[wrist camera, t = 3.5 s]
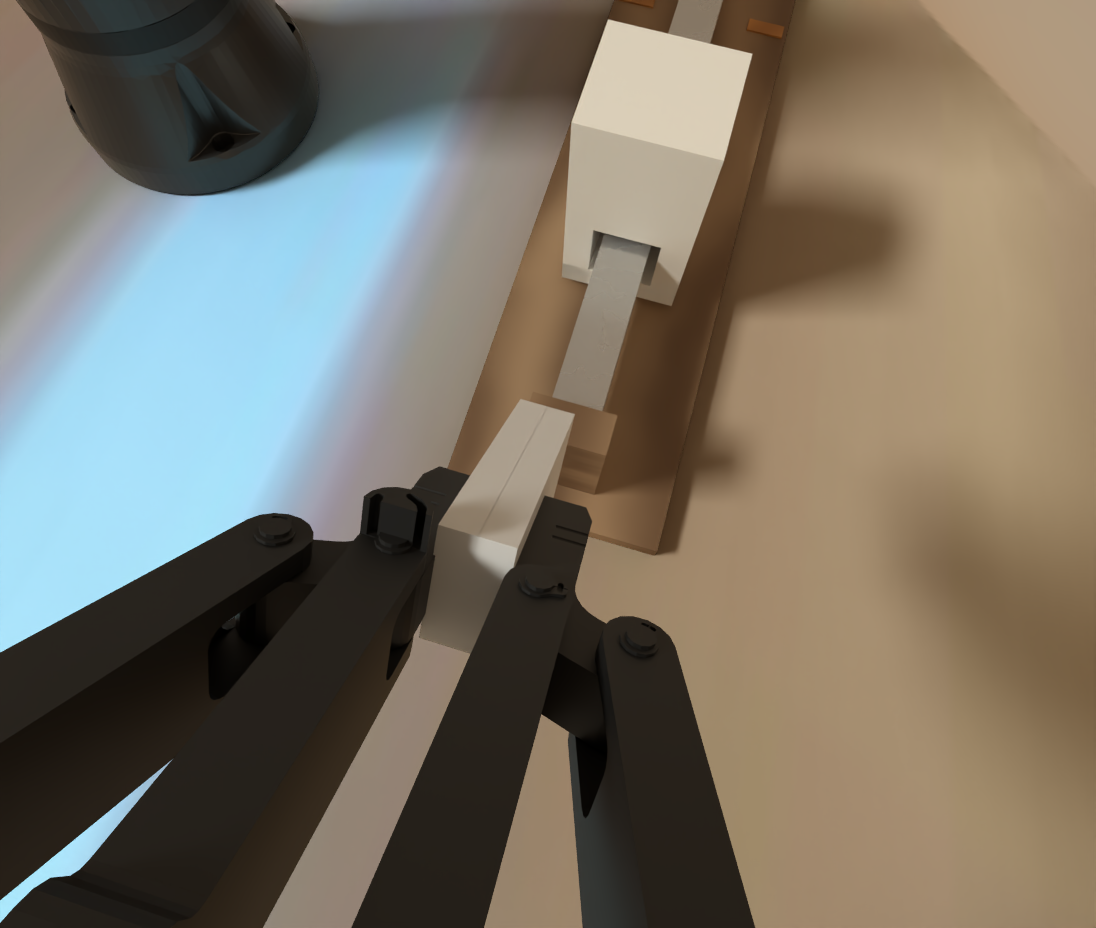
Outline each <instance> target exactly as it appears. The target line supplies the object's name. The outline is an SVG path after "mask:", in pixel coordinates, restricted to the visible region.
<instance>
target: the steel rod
mask: <svg viewBox="0 0 1096 928" xmlns="http://www.w3.org/2000/svg"><path fill="white" fill-rule="evenodd" d="M722 3H723V0H679V1H678V4H677V7H676V10H675V13H674V17H673V20H672V23H671V26H670V29H669V32H668V34H671V35H676V36H680V37H684V38H688V39H692V40H696V41H701V42H705V43H709V44H711V41H712V37H713V34H714V30H715V27H716V24H717V20H718V17H719V13H720V10H721V6H722ZM651 246H652V245H648V244H644V243H641V242H637V241H633V240H629V239H625V238H621V237H618V236H614V235H610V234H606V233H604V236H603V239H602V243H601V246H600V249H599V252H598V255H597V258H596V261H595V265H594V268H593V271H592V274H591V277H590V280H589V283H588V287H587V290H586V293H585V296H584V299H583V302H582V305H581V308H580V312H579V315H578V318H577V321H576V324H575V327H574V330H573V334H572V337H571V340H570V343H569V346H568V349H567V352H566V356H565V359H564V362H563V365H562V368H561V371H560V374H559V378H558V381H557V384H556V387H555V390H554V393H553V396H552V397H554V398H557V399H561V400H564V401H568V402H571V403H575V404H579V405H582V406H586V407H589V408H593V409H596V410H600V411H603V410H604V406H605V403H606V400H607V396H608V393H609V389H610V386H611V383H612V379H613V376H614V372H615V369H616V365H617V362H618V359H619V355H620V352H621V348H622V345H623V341H624V338H625V335H626V331H627V328H628V324H629V321H630V318H631V314H632V311H633V307H634V304H635V300H636V297H637V294H638V290H639V287H640V283H641V280H642V277H643V273H644V270H645V266H646V263H647V259H648V256H649V253H650V249H651Z"/></svg>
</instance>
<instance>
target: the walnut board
mask: <svg viewBox="0 0 1096 928" xmlns="http://www.w3.org/2000/svg"><path fill="white" fill-rule="evenodd" d="M678 1H679V0H614V3H613V5H612V8H611V11H610V14H609V17H608V19H609V20H613V21H617V22H621V23H625V24H629V25H634V26H638V27H642V28H646V29H650V30H655V31H659V32H663V33H667V34H668V32H669V29H670V26H671V23H672V20H673V17H674V13H675V10H676V7H677V4H678ZM794 4H795V0H723V3H722V6H721V10H720V13H719V17H718V20H717V24H716V27H715V30H714V34H713V37H712V41H711V44H713V45H717V46H722V47H726V48H730V49H734V50H738V51H743V52H747V53H751V54H752V58H751V61H750V65H749V69H748V73H747V76H746V80H745V84H744V88H743V91H742V95H741V99H740V103H739V106H738V110H737V114H736V117H735V121H734V125H733V129H732V132H731V136H730V140H729V144H728V147H727V151H726V155H725V159H724V162H723V165H722V168H721V170H720V173H719V176H718V179H717V181H716V184H715V187H714V190H713V192H712V195H711V198H710V201H709V204H708V206H707V209H706V212H705V215H704V217H703V220H702V223H701V226H700V228H699V231H698V234H697V237H696V239H695V242H694V245H693V248H692V251H691V253H690V256H689V259H688V262H687V264H686V267H685V270H684V273H683V275H682V278H681V281H680V284H679V287H678V289H677V292H676V295H675V298H674V300H673V303H672V306H669V305H665V304H661V303H658V302H654V301H650V300H647V299H643V298H639V297H636V300H635V304H634V307H633V311H632V314H631V318H630V321H629V324H628V328H627V331H626V335H625V338H624V341H623V345H622V348H621V352H620V355H619V359H618V362H617V365H616V369H615V372H614V376H613V379H612V383H611V386H610V389H609V393H608V396H607V400H606V403H605V406H604V410H603V411H600V410H596V409H593V408H589V407H586V406H582V405H579V404H575V403H571V402H568V401H564V400H561V399H557V398H554V397H552V396H553V393H554V390H555V387H556V384H557V381H558V378H559V374H560V371H561V368H562V365H563V362H564V359H565V356H566V352H567V349H568V346H569V343H570V340H571V337H572V334H573V330H574V327H575V324H576V321H577V318H578V315H579V312H580V308H581V305H582V302H583V299H584V296H585V293H586V290H587V287H588V284H587V283H583V282H579V281H575V280H572V279H568V278H564V277H562V265H563V249H564V233H565V217H566V201H567V185H568V169H569V153H570V137H571V123H570V126H569V129H568V132H567V134H566V137H565V140H564V143H563V146H562V149H561V151H560V154H559V157H558V160H557V163H556V165H555V168H554V171H553V174H552V177H551V179H550V182H549V185H548V188H547V191H546V193H545V196H544V199H543V202H542V205H541V207H540V210H539V213H538V216H537V219H536V221H535V224H534V227H533V230H532V233H531V235H530V238H529V241H528V244H527V247H526V250H525V252H524V255H523V258H522V261H521V264H520V266H519V269H518V272H517V275H516V278H515V280H514V283H513V286H512V289H511V292H510V294H509V297H508V300H507V303H506V306H505V308H504V311H503V314H502V317H501V320H500V322H499V325H498V328H497V331H496V334H495V337H494V339H493V342H492V345H491V348H490V351H489V353H488V356H487V359H486V362H485V365H484V367H483V370H482V373H481V376H480V379H479V381H478V384H477V387H476V390H475V393H474V395H473V398H472V401H471V404H470V407H469V409H468V412H467V415H466V418H465V421H464V423H463V426H462V429H461V432H460V435H459V438H458V440H457V443H456V446H455V449H454V452H453V454H452V457H451V460H450V463H449V466H448V468H447V469H450V470H453V471H457V472H460V473H464V474H467V475H471V474H472V472H473V471H474V469H475V468H476V466H477V465H478V463H479V462H480V460H481V459H482V457H483V455H484V454H485V452H486V451H487V449H488V448H489V446H490V445H491V443H492V442H493V440H494V439H495V437H496V436H497V434H498V433H499V431H500V429H501V428H502V426H503V425H504V423H505V422H506V420H507V419H508V417H509V416H510V414H511V413H512V411H513V410H514V408H515V407H516V405H517V403H518V402H519V400H520V399H522V400H526V401H529V402H533V403H537V404H540V405H544V406H547V407H551V408H554V409H558V410H562V411H565V412H569V413H572V414H575V416H574V420H573V424H572V428H571V432H570V436H569V440H568V443H567V447H566V451H565V455H564V459H563V463H562V467H561V471H560V475H559V478H558V482H557V486H556V490H555V494H554V498H555V499H559V500H562V501H566V502H569V503H573V504H576V505H580V506H583V507H586V508H587V510H588V512H589V515H590V517H591V520H592V524H591V528H590V532H589V535H588V536H589V537H592V538H596V539H599V540H603V541H606V542H609V543H613V544H616V545H620V546H623V547H626V548H630V549H633V550H637V551H640V552H643V553H647V554H650V555H655V553H656V552H657V551H658V547H659V543H660V539H661V535H662V531H663V527H664V523H665V519H666V515H667V511H668V507H669V503H670V499H671V495H672V491H673V487H674V483H675V479H676V475H677V471H678V467H679V463H680V459H681V455H682V451H683V447H684V443H685V439H686V435H687V431H688V427H689V423H690V419H691V415H692V411H693V407H694V403H695V399H696V395H697V391H698V387H699V383H700V379H701V375H702V371H703V367H704V363H705V359H706V355H707V351H708V347H709V343H710V339H711V335H712V331H713V327H714V323H715V319H716V315H717V311H718V307H719V303H720V299H721V295H722V291H723V287H724V283H725V279H726V275H727V271H728V267H729V263H730V259H731V255H732V251H733V247H734V243H735V239H736V235H737V231H738V227H739V223H740V219H741V215H742V211H743V207H744V203H745V199H746V195H747V191H748V187H749V183H750V179H751V175H752V171H753V167H754V163H755V159H756V155H757V151H758V147H759V143H760V139H761V135H762V131H763V127H764V123H765V119H766V115H767V111H768V107H769V103H770V99H771V95H772V91H773V87H774V83H775V80H776V76H777V72H778V68H779V64H780V60H781V56H782V52H783V48H784V44H785V40H786V36H787V32H788V28H789V24H790V20H791V16H792V12H793V8H794ZM608 19H607V21H608ZM606 24H607V22H606ZM605 27H606V25H605ZM604 30H605V28H604ZM603 32H604V31H603ZM602 35H603V33H602ZM601 38H602V36H601ZM600 41H601V39H600ZM599 44H600V42H599ZM598 47H599V45H598ZM598 47H597V49H598ZM596 52H597V50H596ZM595 55H596V53H595ZM594 58H595V56H594ZM593 61H594V59H593ZM592 63H593V62H592ZM591 66H592V64H591ZM590 69H591V67H590ZM589 72H590V70H589ZM588 75H589V73H588ZM587 77H588V76H587ZM586 80H587V78H586ZM585 83H586V81H585ZM584 86H585V84H584ZM583 89H584V87H583ZM582 91H583V90H582ZM581 94H582V92H581ZM580 97H581V95H580ZM579 100H580V98H579ZM578 103H579V101H578ZM577 106H578V104H577ZM577 106H576V108H577ZM575 111H576V109H575ZM574 114H575V112H574ZM573 117H574V115H573ZM572 120H573V118H572ZM572 120H571V122H572Z"/></svg>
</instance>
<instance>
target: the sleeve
mask: <svg viewBox="0 0 1096 928" xmlns="http://www.w3.org/2000/svg"><path fill="white" fill-rule="evenodd" d="M751 58H752V54H751V53H747V52H743V51H738V50H734V49H730V48H726V47H722V46H717V45H713V44H709V43H705V42H701V41H696V40H692V39H688V38H684V37H680V36H676V35H671V34H667V33H663V32H659V31H655V30H650V29H646V28H642V27H638V26H634V25H629V24H625V23H621V22H617V21H613V20H609V19H608V21H607V24H606V27H605V30H604V32H603V35H602V38H601V41H600V44H599V47H598V49H597V52H596V55H595V58H594V61H593V63H592V66H591V69H590V72H589V75H588V77H587V80H586V83H585V86H584V89H583V91H582V94H581V97H580V100H579V103H578V106H577V108H576V111H575V114H574V117H573V120H572V122H571V137H570V153H569V169H568V185H567V201H566V217H565V233H564V249H563V265H562V277H564V278H568V279H572V280H575V281H579V282H583V283H587V284H588V283H589V280H590V277H591V274H592V271H593V268H594V265H595V261H596V258H597V255H598V252H599V249H600V246H601V243H602V239H603V236H604V233H606V234H610V235H614V236H618V237H621V238H625V239H629V240H633V241H637V242H641V243H644V244H648V245H652V246H651V249H650V253H649V256H648V259H647V263H646V266H645V270H644V273H643V277H642V280H641V283H640V287H639V290H638V294H637V297H639V298H643V299H647V300H650V301H654V302H658V303H661V304H665V305H669V306H672V303H673V300H674V298H675V295H676V292H677V289H678V287H679V284H680V281H681V278H682V275H683V273H684V270H685V267H686V264H687V262H688V259H689V256H690V253H691V251H692V248H693V245H694V242H695V239H696V237H697V234H698V231H699V228H700V226H701V223H702V220H703V217H704V215H705V212H706V209H707V206H708V204H709V201H710V198H711V195H712V192H713V190H714V187H715V184H716V181H717V179H718V176H719V173H720V170H721V168H722V165H723V162H724V159H725V155H726V151H727V147H728V144H729V140H730V136H731V132H732V129H733V125H734V121H735V117H736V114H737V110H738V106H739V103H740V99H741V95H742V91H743V88H744V84H745V80H746V76H747V73H748V69H749V65H750V61H751Z"/></svg>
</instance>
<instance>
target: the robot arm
mask: <svg viewBox="0 0 1096 928" xmlns="http://www.w3.org/2000/svg"><path fill="white" fill-rule="evenodd" d="M16 1H17V2H18V4H19V5H20V6H21V7H22V9H23V10H24V11H25V13H26V14H27V15H28V17H29V18H30V19H31V20H32V22H33V23H34V24H35V26H36V27H37V28H38V30H39V31H40V32H41V34H42V36H43V39H44V41H45V44H46V46H47V49H48V51H49V53H50V56H51V58H52V60H53V62H54V65H55V67H56V70H57V72H58V75H59V77H60V79H61V82H62V84H63V86H64V88H65V96H66V101H67V103H68V106H69V109H70V112H71V115H72V117H73V119H74V121H75V123H76V125H77V127H78V128H79V130H80V131H81V133H82V134H83V136H84V137H85V138H86V140H87V141H88V142H89V143H90V144H91V146H92V147H93V148H94V149H95V150H96V152H97V153H98V154H99V155H100V156H101V158H102V159H103V160H104V161H105V162H106V163H107V164H108V165H109V166H110V167H111V168H112V169H113V170H114V171H115V172H117V173H118V174H119V175H121V176H122V177H124V178H126V179H127V180H129V181H131V182H133V183H135V184H137V185H140V186H143V187H145V188H149V189H152V190H156V191H160V192H166V193H174V194H202V193H210V192H216V191H221V190H225V189H229V188H232V187H235V186H238V185H241V184H244V183H246V182H249V181H251V180H253V179H255V178H257V177H259V176H261V175H262V174H264V173H266V172H268V171H269V170H271V169H272V168H274V167H275V166H276V165H278V164H279V163H280V162H281V161H283V160H284V159H285V158H286V157H287V156H288V155H289V154H290V153H291V152H292V151H293V150H294V149H295V148H296V147H297V146H298V144H299V143H300V142H301V141H302V139H303V138H304V136H305V135H306V133H307V131H308V130H309V128H310V126H311V124H312V121H313V119H314V116H315V113H316V109H317V105H318V98H319V85H318V78H317V74H316V71H315V68H314V65H313V62H312V59H311V57H310V54H309V51H308V48H307V46H306V43H305V41H304V39H303V37H302V35H301V33H300V31H299V29H298V28H297V26H296V25H295V23H294V22H293V20H292V19H291V18H290V17H289V16H288V14H287V13H286V12H285V11H284V10H283V9H282V8H281V7H280V6H279V5H278V4H277V3H276V2H275V0H16ZM574 416H575V414H572V413H569V412H565V411H562V410H558V409H554V408H551V407H547V406H544V405H540V404H537V403H533V402H529V401H526V400H522V399H520V400H519V402H518V403H517V405H516V407H515V408H514V410H513V411H512V413H511V414H510V416H509V417H508V419H507V420H506V422H505V423H504V425H503V426H502V428H501V429H500V431H499V433H498V434H497V436H496V437H495V439H494V440H493V442H492V443H491V445H490V446H489V448H488V449H487V451H486V452H485V454H484V455H483V457H482V459H481V460H480V462H479V463H478V465H477V466H476V468H475V469H474V471H473V472H472V474H471V475H467V474H464V473H460V472H457V471H453V470H450V469H446V468H443V467H438V468H435V469H433V470H431V471H429V472H427V473H424V474H423V475H422V476H421V478H420V479H419V480H418V481H417V483H416V484H415V486H414V487H413V488H412V489H411V490H410V489H405V488H399V487H386V488H380V489H377V490H373V491H371V492H370V493H368V494H367V495H365V496H364V501H363V510H362V520H361V529H360V534H359V535H358V536H357V537H356V539H355V540H354V541H348V542H335V541H323V540H313V531H312V529H311V526H310V525H309V524H308V523H306V522H305V521H304V520H302V519H301V518H298V517H295V516H292V515H289V514H278V513H271V514H263V515H258V516H255V517H253V518H250V519H247V520H245V521H244V522H242V523H240V524H238V525H236V526H234V527H232V528H231V529H229V530H227V531H225V532H223V533H221V534H219V535H218V536H216V537H214V538H212V539H210V540H208V541H206V542H205V543H203V544H201V545H199V546H197V547H195V548H193V549H192V550H190V551H188V552H186V553H184V554H182V555H180V556H179V557H177V558H175V559H173V560H171V561H169V562H167V563H166V564H164V565H162V566H160V567H158V568H156V569H154V570H153V571H151V572H149V573H147V574H145V575H143V576H141V577H140V578H138V579H136V580H134V581H132V582H130V583H128V584H127V585H125V586H123V587H121V588H119V589H117V590H115V591H114V592H112V593H110V594H108V595H106V596H104V597H102V598H101V599H99V600H97V601H95V602H93V603H91V604H90V605H88V606H86V607H84V608H82V609H80V610H78V611H77V612H75V613H73V614H71V615H69V616H67V617H65V618H64V619H62V620H60V621H58V622H56V623H54V624H52V625H51V626H49V627H47V628H45V629H43V630H41V631H39V632H38V633H36V634H34V635H32V636H30V637H28V638H26V639H25V640H23V641H21V642H19V643H17V644H15V645H13V646H12V647H10V648H8V649H6V650H4V651H2V652H0V900H1V899H2V898H3V897H5V896H6V895H7V894H8V893H10V892H11V891H12V890H13V889H14V888H16V887H17V886H18V885H19V884H21V883H22V882H23V881H24V880H25V879H27V878H28V877H29V876H30V875H32V874H33V873H34V872H35V871H36V870H38V869H39V868H40V867H41V866H43V865H44V864H45V863H46V862H47V861H49V860H50V859H51V858H52V857H54V856H55V855H56V854H57V853H58V852H60V851H61V850H62V849H63V848H65V847H66V846H67V845H68V844H69V843H71V842H72V841H73V840H74V839H75V838H77V837H78V836H79V835H80V834H82V833H83V832H84V831H85V830H86V829H88V828H89V827H90V826H91V825H93V824H94V823H95V822H96V821H97V820H99V819H100V818H101V817H102V816H104V815H105V814H106V813H107V812H108V811H110V810H111V809H112V808H113V807H115V806H116V805H117V804H118V803H119V802H121V801H122V800H123V799H124V798H126V797H127V796H128V795H129V794H130V793H132V792H133V791H134V790H135V789H137V788H138V787H139V786H140V785H141V784H143V783H144V782H145V781H146V780H148V779H149V778H150V777H151V776H152V775H154V774H155V773H156V772H157V771H158V770H160V769H161V768H162V767H163V766H165V765H166V764H167V763H168V762H169V761H171V760H172V761H171V762H170V763H169V764H168V765H167V767H166V768H165V769H164V770H163V772H162V773H161V774H160V775H159V776H158V778H157V779H156V780H155V781H154V782H153V784H152V785H151V786H150V787H149V788H148V790H147V791H146V792H145V793H144V794H143V796H142V797H141V798H140V799H139V800H138V802H137V803H136V804H135V805H134V807H133V808H132V809H131V810H130V811H129V813H128V814H127V815H126V816H125V817H124V819H123V820H122V821H121V822H120V823H119V825H118V826H117V827H116V828H115V829H114V831H113V832H112V833H111V834H110V835H109V837H108V838H107V839H106V840H105V842H104V843H103V844H102V845H101V846H100V848H99V849H98V850H97V851H96V852H95V854H94V855H93V856H92V857H91V858H90V860H89V861H88V862H87V863H86V864H85V865H84V866H83V867H82V868H81V869H80V870H78V871H77V872H75V873H74V874H72V875H71V876H64V877H54V878H49V879H48V880H46V881H45V882H43V883H41V884H40V885H38V886H37V887H35V888H34V889H32V890H31V891H30V892H29V893H28V894H27V895H26V896H25V897H24V898H23V899H22V900H21V901H20V902H19V903H18V904H17V905H16V906H15V907H14V908H13V909H12V910H11V911H10V912H9V914H8V915H7V916H6V917H5V918H4V919H3V921H2V922H1V923H0V928H263V926H264V924H265V922H266V921H267V919H268V917H269V915H270V913H271V911H272V910H273V908H274V906H275V904H276V902H277V900H278V898H279V897H280V895H281V893H282V891H283V889H284V887H285V885H286V884H287V882H288V880H289V878H290V876H291V874H292V873H293V871H294V869H295V867H296V865H297V863H298V861H299V860H300V858H301V856H302V854H303V852H304V850H305V848H306V847H307V845H308V843H309V841H310V839H311V837H312V836H313V834H314V832H315V830H316V828H317V826H318V824H319V823H320V821H321V819H322V817H323V815H324V813H325V811H326V810H327V808H328V806H329V804H330V802H331V800H332V799H333V797H334V795H335V793H336V791H337V789H338V787H339V786H340V784H341V782H342V780H343V778H344V776H345V774H346V773H347V771H348V769H349V767H350V765H351V763H352V762H353V760H354V758H355V756H356V754H357V752H358V750H359V749H360V747H361V745H362V743H363V741H364V739H365V737H366V736H367V734H368V732H369V730H370V728H371V726H372V725H373V723H374V721H375V719H376V717H377V715H378V713H379V712H380V710H381V708H382V706H383V704H384V702H385V700H386V699H387V697H388V695H389V693H390V691H391V689H392V688H393V686H394V684H395V682H396V680H397V678H398V676H399V675H400V673H401V671H402V669H403V667H404V665H405V663H406V662H407V660H408V658H409V656H410V652H411V648H412V642H413V636H414V633H415V632H416V630H417V628H418V626H419V624H420V623H421V621H422V624H421V630H420V636H419V638H422V639H425V640H428V641H432V642H435V643H438V644H441V645H445V646H448V647H451V648H454V649H457V650H461V651H464V652H467V653H470V657H469V659H468V661H467V663H466V666H465V668H464V670H463V673H462V675H461V677H460V680H459V682H458V684H457V686H456V689H455V691H454V693H453V696H452V698H451V700H450V702H449V705H448V707H447V709H446V712H445V714H444V716H443V719H442V721H441V723H440V725H439V728H438V730H437V732H436V735H435V737H434V739H433V742H432V744H431V746H430V748H429V751H428V753H427V755H426V758H425V760H424V762H423V765H422V767H421V769H420V771H419V774H418V776H417V778H416V781H415V783H414V785H413V787H412V790H411V792H410V794H409V797H408V799H407V801H406V804H405V806H404V808H403V810H402V813H401V815H400V817H399V820H398V822H397V824H396V827H395V829H394V831H393V833H392V836H391V838H390V840H389V843H388V845H387V847H386V850H385V852H384V854H383V856H382V859H381V861H380V863H379V866H378V868H377V870H376V873H375V875H374V877H373V879H372V882H371V884H370V886H369V889H368V891H367V893H366V895H365V898H364V900H363V902H362V905H361V907H360V909H359V912H358V914H357V916H356V918H355V921H354V923H353V925H352V928H484V925H485V921H486V918H487V914H488V910H489V907H490V903H491V899H492V895H493V892H494V888H495V884H496V881H497V877H498V873H499V869H500V866H501V862H502V858H503V855H504V851H505V847H506V843H507V840H508V836H509V832H510V829H511V825H512V821H513V817H514V814H515V810H516V806H517V803H518V799H519V795H520V791H521V788H522V784H523V780H524V776H525V773H526V769H527V765H528V762H529V758H530V754H531V750H532V747H533V743H534V739H535V736H536V732H537V728H538V724H539V721H540V717H541V714H542V715H544V716H545V717H547V718H548V719H550V720H551V721H553V722H555V723H556V724H558V725H559V726H561V727H562V728H564V729H565V730H567V731H568V732H569V737H568V748H569V760H570V773H571V785H572V798H573V811H574V823H575V836H576V848H577V861H578V873H579V886H580V899H581V911H582V924H583V928H755V926H754V922H753V919H752V915H751V912H750V908H749V905H748V901H747V897H746V894H745V890H744V887H743V883H742V880H741V876H740V873H739V869H738V866H737V862H736V859H735V855H734V852H733V848H732V845H731V841H730V838H729V834H728V831H727V827H726V824H725V820H724V817H723V813H722V810H721V806H720V802H719V799H718V795H717V792H716V788H715V785H714V781H713V778H712V774H711V771H710V767H709V764H708V760H707V757H706V753H705V750H704V746H703V743H702V739H701V736H700V732H699V729H698V725H697V722H696V718H695V715H694V711H693V707H692V704H691V700H690V697H689V693H688V690H687V686H686V683H685V679H684V676H683V672H682V669H681V665H680V662H679V658H678V655H677V651H676V648H675V646H674V644H673V642H672V640H671V638H670V636H669V635H668V634H666V633H665V632H664V631H663V630H662V629H661V628H660V627H659V626H657V625H655V624H653V623H651V622H649V621H648V620H644V619H641V618H637V617H633V616H620V617H618V618H615V619H612V620H610V621H609V622H608V623H607V624H606V623H604V622H602V621H601V620H599V619H597V618H596V617H594V616H593V615H591V614H590V613H589V612H588V611H586V610H585V609H584V608H583V607H582V605H581V604H580V602H579V601H578V599H577V597H576V593H575V584H576V581H577V577H578V573H579V569H580V565H581V562H582V558H583V554H584V550H585V547H586V543H587V539H588V535H589V532H590V528H591V524H592V520H591V517H590V515H589V512H588V510H587V508H586V507H583V506H580V505H576V504H573V503H569V502H566V501H562V500H559V499H555V498H554V494H555V490H556V486H557V482H558V478H559V475H560V471H561V467H562V463H563V459H564V455H565V451H566V447H567V443H568V440H569V436H570V432H571V428H572V424H573V420H574ZM234 616H235V617H234ZM231 618H232V619H231ZM228 620H229V621H228Z"/></svg>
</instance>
